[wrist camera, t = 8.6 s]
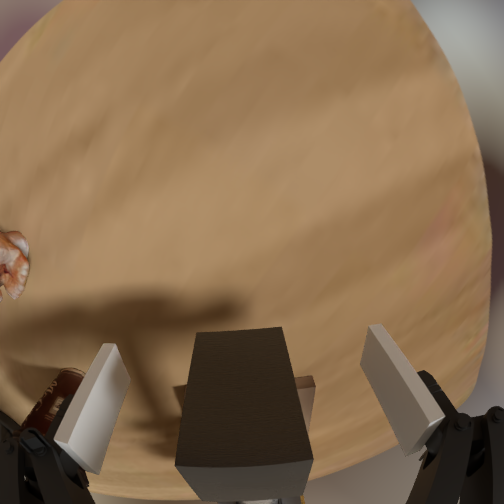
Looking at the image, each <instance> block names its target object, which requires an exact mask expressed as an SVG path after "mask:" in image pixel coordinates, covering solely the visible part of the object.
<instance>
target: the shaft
mask: <svg viewBox="0 0 504 504" xmlns="http://www.w3.org/2000/svg"><path fill="white" fill-rule="evenodd" d="M313 460H314V458H313V454H312V450H311V446H310V441H309V437H308V433H307V429H306V424H305V420H304V416H303V412H302V408H301V403H300V399H299V395H298V391H297V387H296V383H295V379H294V375H293V371H292V366H291V362H290V358H289V354H288V350H287V346H286V342H285V338H284V334H283V330H282V327H273V328H263V329H250V330H237V331H220V332H199V333H196V338H195V343H194V349H193V354H192V359H191V365H190V370H189V376H188V382H187V388H186V394H185V400H184V406H183V412H182V418H181V425H180V431H179V438H178V445H177V452H176V460H175V467H176V468H177V470H178V471H179V472H180V474H181V475H182V476H183V478H184V479H185V480H186V482H187V483H188V484H189V486H190V487H191V488H192V489H193V491H194V492H195V493H196V494H197V496H198V497H199V498H200V499H201V500H202V501H216V502H237V501H239V503H240V504H278V499H281V498H289V497H296V496H302V495H303V492H304V489H305V486H306V483H307V480H308V477H309V473H310V470H311V467H312V463H313Z"/></svg>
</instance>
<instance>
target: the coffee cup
mask: <svg viewBox="0 0 504 504" xmlns="http://www.w3.org/2000/svg"><path fill="white" fill-rule="evenodd" d="M85 375H86V374H84V373H83V372H82V371H79V370H77V369H74V368H67V369H63V370H62V371H61V372H60V374H59V375H58V377H57V379H55V380H54V381H53V382H52V384H51V385H50V386H49V388H47V390H46V391H45V393H44V395H43V397H42V398H40V399H39V401H38V402H37V404H36V405H35V406H34V408H33V409H32V411H31V412H30V414H29V415H28V416H27V417H26V419H25V420H24V422H23V423H22V425H21V427H20V429H18V430H14V431H13V433H12V438H13V439H15V440H16V441H17V442H18V443H19V437H20V434H21V433H22V432H23V430H25V429H27V428H31V427H32V428H36V429H37V430H39V431H40V433H41V434H42V435H43V436H44V437H45V435H46V433H47V431H48V429H49V427H50V425H51V423H52V421H53V419H54V417H55V416H56V413H57V411H58V410H59V407H60V405H61V403H62V401H63V400H64V399H65V398H66V397H67V396H68V395H69V394H72V395H75V394H76V392H77V390H78V388H79V386H80V384H81V382H82V380H83V379H84V377H85ZM19 444H20V443H19ZM78 470H79V472H80V473H81V475H82V478H83V480H84V482H85V484H86V486H87V487H89V485H88V484H89V481H88V479H87V476H86V473H85V470H84V469H83V468H82V467H81V466H80V465H79V468H78Z"/></svg>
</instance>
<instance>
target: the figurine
mask: <svg viewBox="0 0 504 504" xmlns="http://www.w3.org/2000/svg"><path fill="white" fill-rule="evenodd" d="M28 252H29V247H28V243H27V241H26V239H25V237H24V236H23V235H22V234H21V233H20V232H18V231H11V232H7V233H3V232H1V231H0V286H2V285H4V287H5V289H6V291H7V293H8V295H10V296H11V297H12V298H13V299H16V298H19V297H20V295H21V294H22V292H23V291H24V288H25V284H26V281H27V277H28V274H29V270H30V265H29V263H28V261H27V255H28ZM2 299H3V298H2V293H1V291H0V302H1V301H2Z"/></svg>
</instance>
